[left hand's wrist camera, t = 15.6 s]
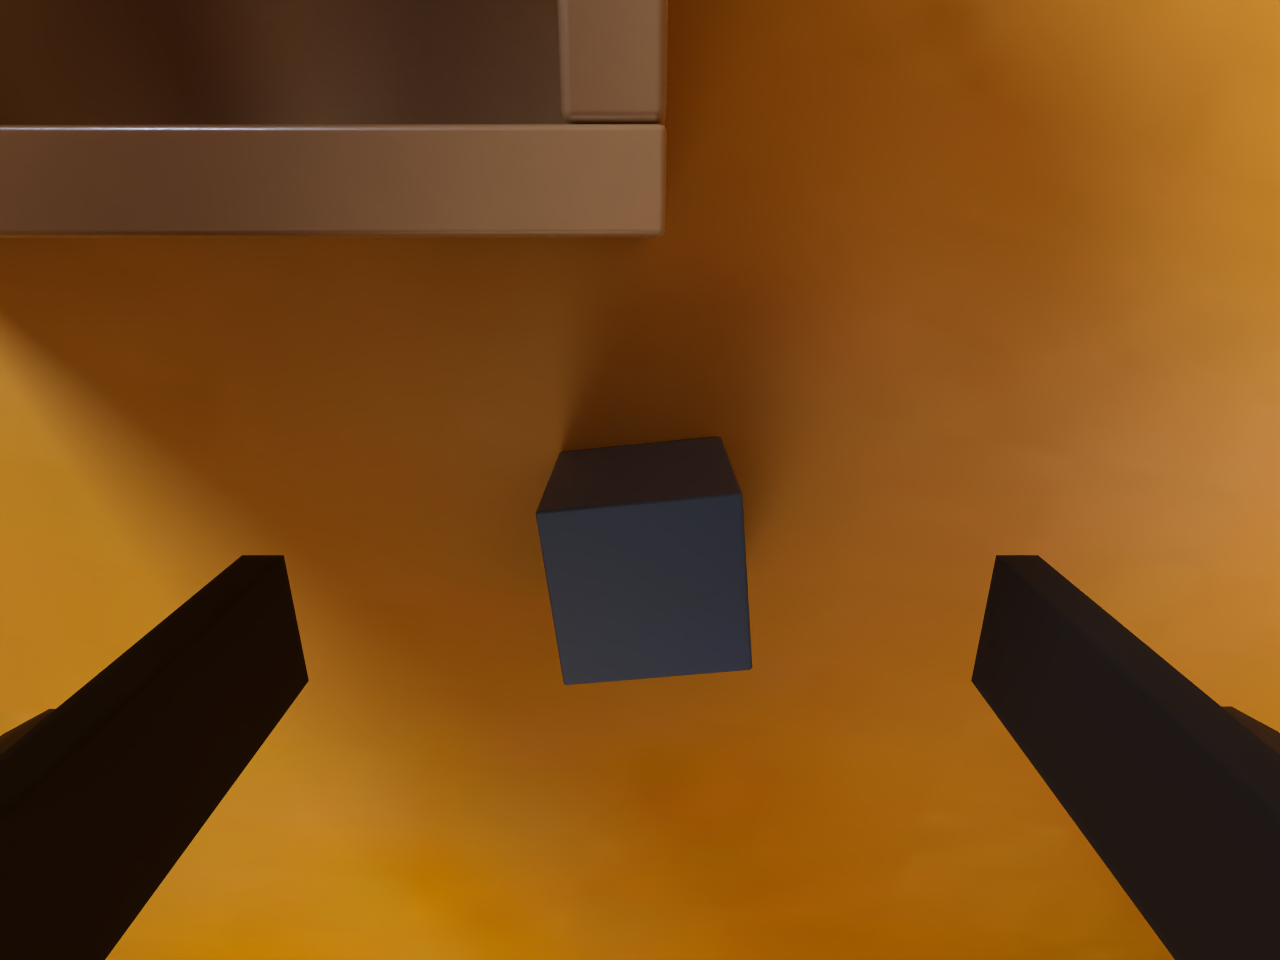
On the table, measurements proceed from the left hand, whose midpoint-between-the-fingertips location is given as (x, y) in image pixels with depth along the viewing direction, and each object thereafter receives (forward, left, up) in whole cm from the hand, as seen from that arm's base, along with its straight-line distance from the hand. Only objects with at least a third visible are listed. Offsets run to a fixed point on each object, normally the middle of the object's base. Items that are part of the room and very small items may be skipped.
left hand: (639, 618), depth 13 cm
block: (0, 0, -6) cm, 6 cm away
